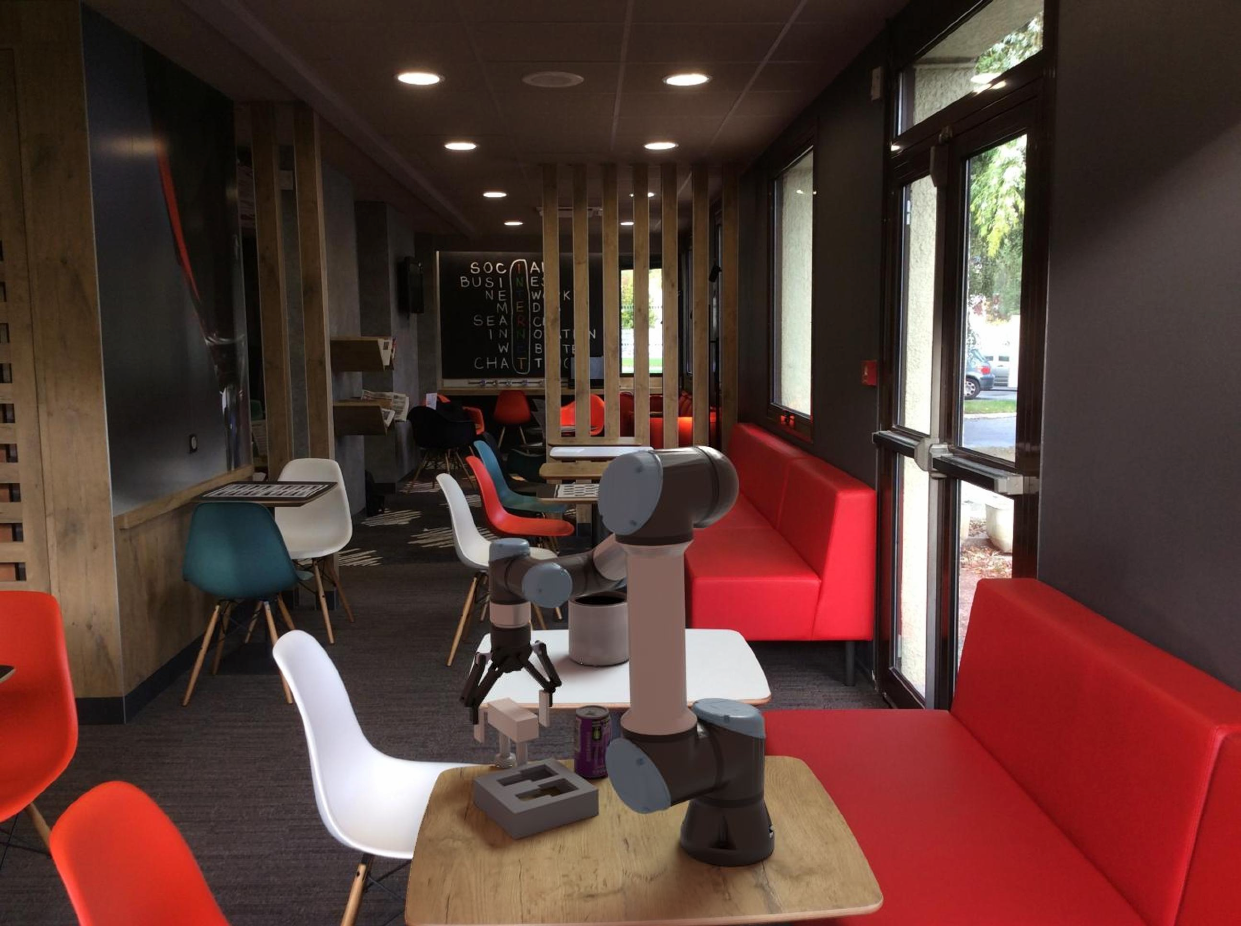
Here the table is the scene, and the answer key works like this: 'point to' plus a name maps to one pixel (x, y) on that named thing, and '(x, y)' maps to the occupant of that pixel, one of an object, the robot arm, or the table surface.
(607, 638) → the planter
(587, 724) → the beverage can
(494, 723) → the bar
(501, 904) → the table surface
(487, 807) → the keyhole board
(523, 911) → the table surface
